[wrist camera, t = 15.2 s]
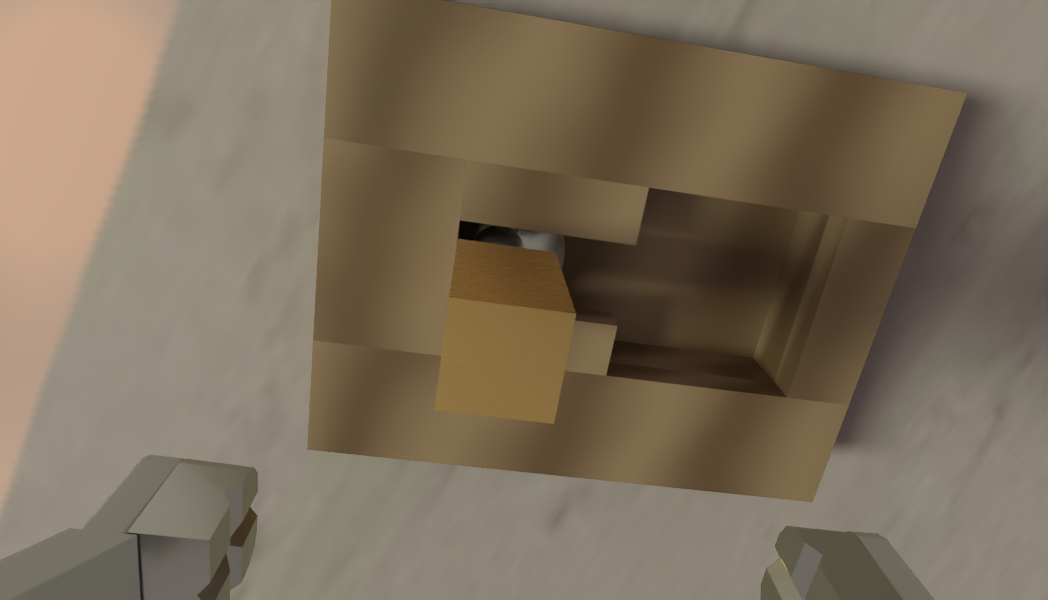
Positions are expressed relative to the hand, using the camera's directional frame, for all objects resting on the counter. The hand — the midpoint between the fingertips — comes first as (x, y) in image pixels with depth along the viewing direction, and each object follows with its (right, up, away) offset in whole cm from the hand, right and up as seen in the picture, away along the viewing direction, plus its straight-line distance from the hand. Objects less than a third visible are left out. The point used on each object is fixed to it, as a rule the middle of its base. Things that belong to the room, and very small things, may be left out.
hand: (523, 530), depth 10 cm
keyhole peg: (-1, +6, +16) cm, 17 cm away
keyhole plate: (+3, +6, +17) cm, 18 cm away
